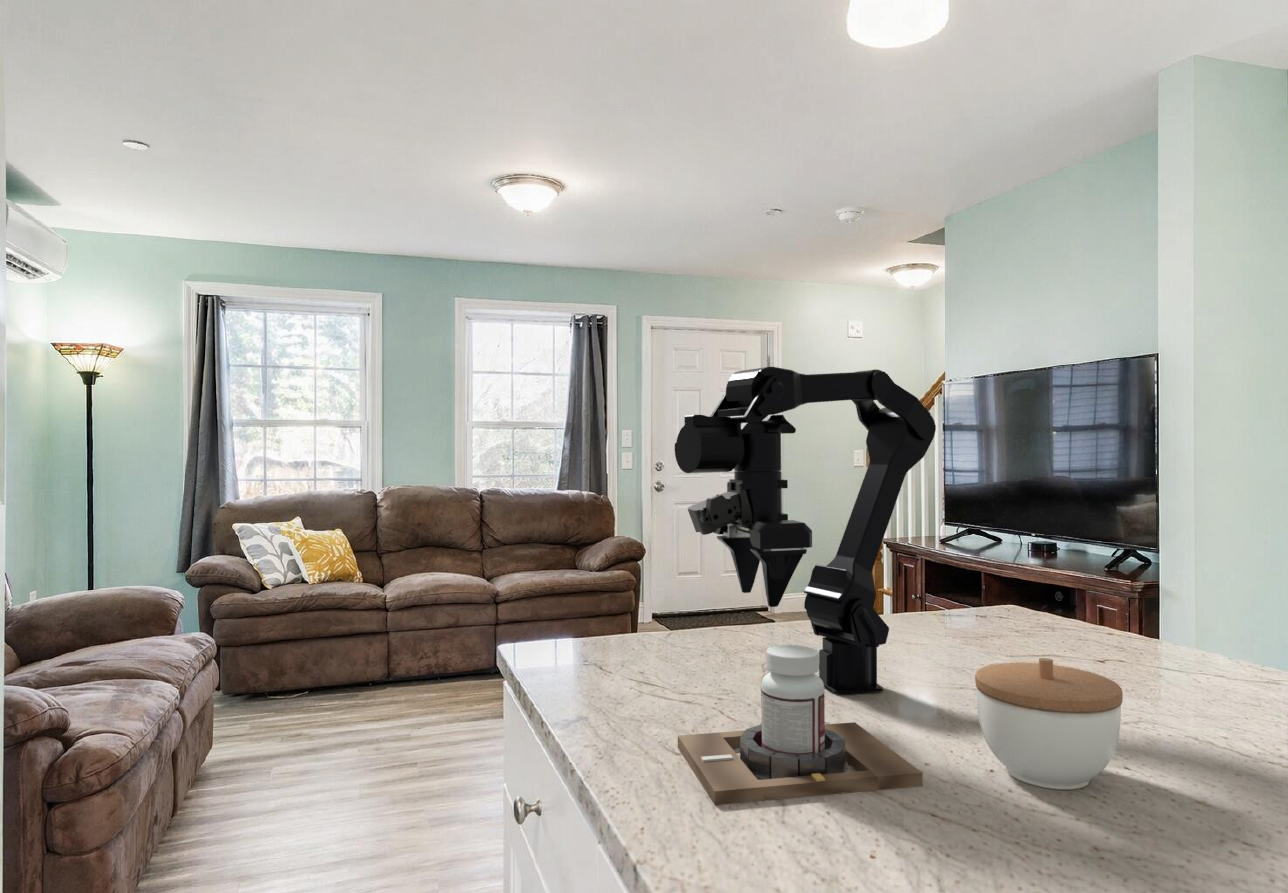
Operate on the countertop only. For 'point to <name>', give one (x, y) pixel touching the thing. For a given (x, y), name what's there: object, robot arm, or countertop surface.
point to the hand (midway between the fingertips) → (759, 599)
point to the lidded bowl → (1049, 721)
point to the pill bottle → (793, 701)
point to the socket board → (793, 765)
